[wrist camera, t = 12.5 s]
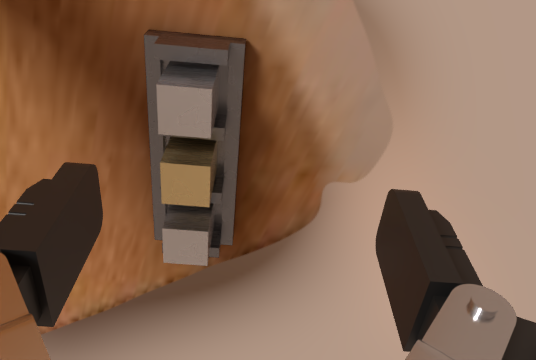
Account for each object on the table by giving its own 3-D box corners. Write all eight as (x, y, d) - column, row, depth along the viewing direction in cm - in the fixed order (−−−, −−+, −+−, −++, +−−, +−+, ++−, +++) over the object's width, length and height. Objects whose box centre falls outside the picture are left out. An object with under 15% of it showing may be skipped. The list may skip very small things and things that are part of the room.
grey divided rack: (157, 230, 49) (142, 276, 44) (148, 29, 38) (126, 55, 32) (233, 236, 50) (228, 282, 44) (246, 38, 39) (241, 66, 33)
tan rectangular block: (173, 128, 42) (160, 162, 37) (217, 132, 42) (210, 166, 37) (174, 166, 44) (161, 203, 39) (216, 170, 44) (209, 207, 39)
